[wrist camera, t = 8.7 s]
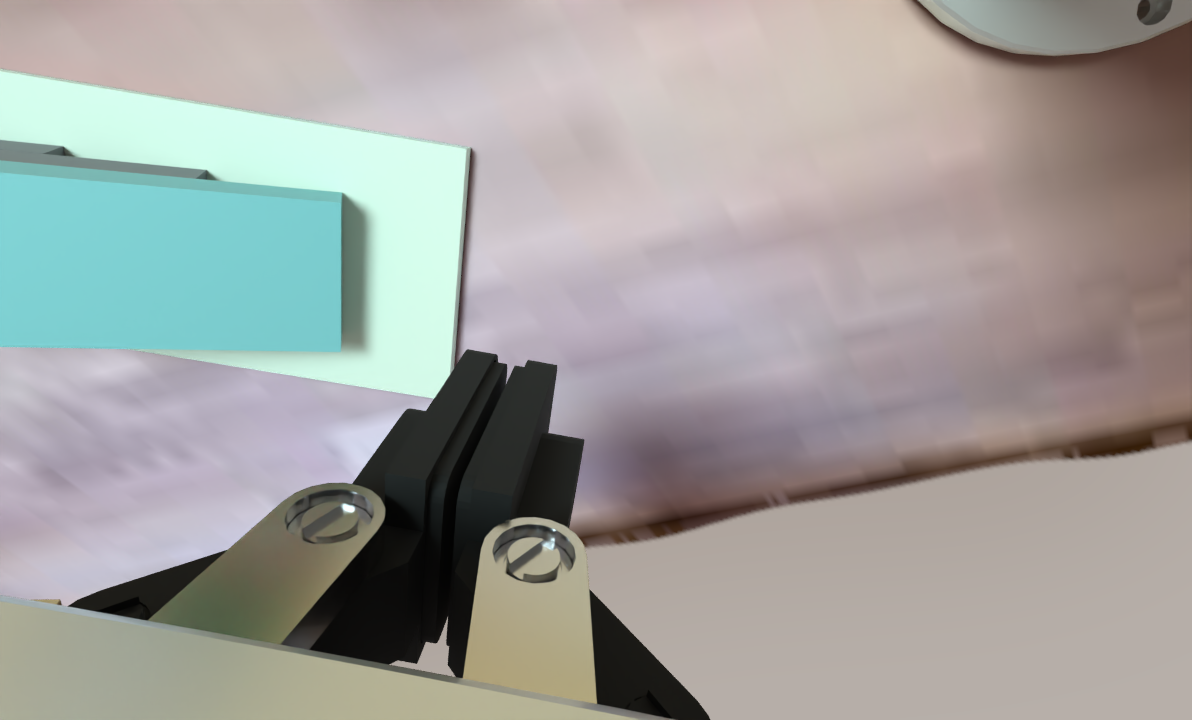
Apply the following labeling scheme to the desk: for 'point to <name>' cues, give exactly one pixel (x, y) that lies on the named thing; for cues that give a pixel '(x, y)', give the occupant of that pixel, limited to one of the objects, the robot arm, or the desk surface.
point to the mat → (306, 161)
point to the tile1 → (166, 262)
